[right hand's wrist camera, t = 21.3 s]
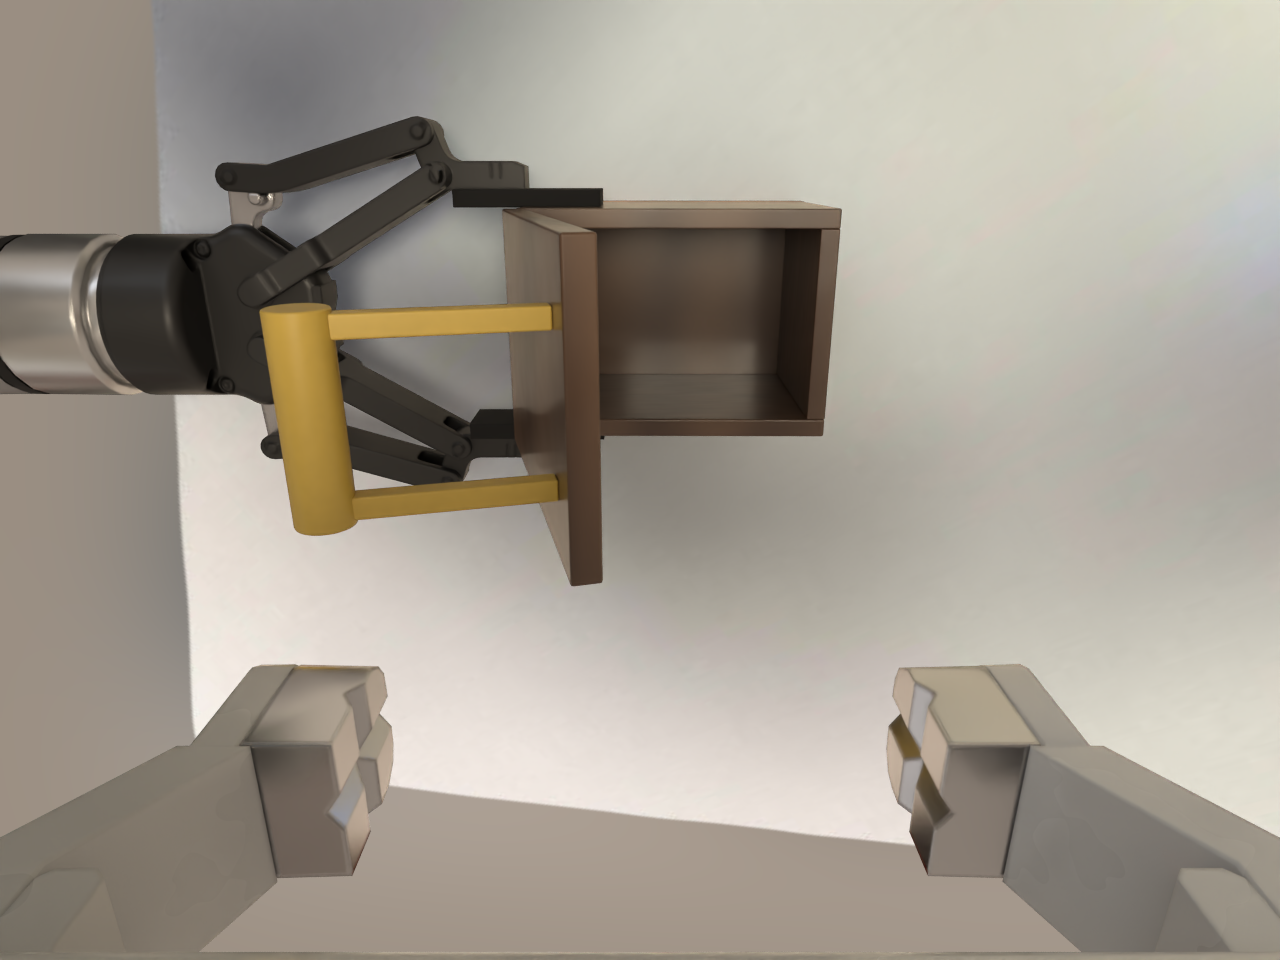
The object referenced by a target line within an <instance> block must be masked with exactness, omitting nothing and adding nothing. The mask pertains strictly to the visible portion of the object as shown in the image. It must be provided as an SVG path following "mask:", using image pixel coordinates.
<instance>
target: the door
mask: <svg viewBox="0 0 1280 960" xmlns="http://www.w3.org/2000/svg"><path fill="white" fill-rule="evenodd" d="M502 216H503V234H504V252H505V270H506V289H507V304H495V305H468V306H440V307H413V308H385V309H358V310H331V307H330V306H329V305H326V304H319V303H292V304H281V305H274V306H269V307H265V308H263V309H261V310H260V312H259V313H260V319H261V325H262V331H263V338H264V344H265V350H266V356H267V362H268V369H269V375H270V381H271V387H272V394H273V400H274V406H275V412H276V418H277V425H278V431H279V437H280V443H281V450H282V456H283V462H284V468H285V475H286V481H287V487H288V493H289V499H290V506H291V512H292V518H293V524H294V528H295V530H296V531H297V532H299V533H301V534H304V535H311V536H321V535H330V534H335V533H339V532H342V531H345V530H347V529H349V528H351V527H353V526H354V525H355V524H356V523H357V522H358V520H363V519H374V518H385V517H395V516H406V515H416V514H427V513H438V512H448V511H459V510H469V509H480V508H491V507H501V506H512V505H523V504H533V503H539V504H540V506H541V509H542V511H543V514H544V517H545V519H546V522H547V524H548V527H549V530H550V532H551V535H552V537H553V540H554V543H555V545H556V548H557V550H558V553H559V556H560V558H561V561H562V564H563V566H564V569H565V571H566V574H567V577H568V579H569V582H570V584H571V586H580V585H588V584H597V583H602V580H603V566H602V507H601V447H600V387H599V327H598V267H597V234H596V232H593V231H590V230H587V229H584V228H581V227H578V226H575V225H572V224H569V223H565V222H562V221H559V220H556V219H553V218H550V217H547V216H544V215H541V214H538V213H535V212H532V211H529V210H526V209H503V211H502ZM507 332H509V343H510V361H511V379H512V397H513V416H514V434H515V441H516V444H517V446H518V449H519V451H520V454H521V457H522V459H523V462H524V464H525V467H526V470H527V472H528V475H529V476H519V477H507V478H496V479H484V480H472V481H461V482H449V483H437V484H426V485H414V486H403V487H391V488H379V489H368V490H356V491H355V487H354V479H353V471H352V464H351V456H350V448H349V440H348V433H347V425H346V417H345V410H344V402H343V394H342V387H341V379H340V371H339V363H338V356H337V348H336V340H350V339H372V338H395V337H417V336H439V335H462V334H484V333H507Z"/></svg>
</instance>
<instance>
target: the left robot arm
mask: <svg viewBox="0 0 1280 960" xmlns="http://www.w3.org/2000/svg"><path fill="white" fill-rule="evenodd" d="M414 154H416V157H417V159H418V161H419V164H420V166H421V168H420V169H419V170H417V171H416V172H414V173H412V174H411V175H409V176H408V177H406V178H405V179H403V180H402V181H400V182H399V183H397V184H396V185H394V186H393V187H391V188H390V189H388V190H387V191H385V192H384V193H382V194H380V195H379V196H377V197H376V198H374V199H373V200H371V201H370V202H368V203H367V204H365V205H364V206H362V207H361V208H359V209H358V210H356V211H355V212H353V213H351V214H350V215H348V216H347V217H345V218H344V219H342V220H341V221H339V222H338V223H336V224H335V225H333V226H332V227H330V228H329V229H327V230H326V231H324V232H323V233H321V234H319V235H318V236H316V237H314V238H312V239H310V240H308V241H306V242H305V243H303V244H301V245H300V246H298V247H297V248H296V247H294V246H293V245H291V244H290V243H288V242H287V241H285V240H284V239H282V238H281V237H279V236H278V235H276V234H275V233H273V232H272V231H270V230H269V229H268V228H266V227H264V226H262V219H263V216H264V215H265V214H266V213H267V212H269V211H273V210H276V209H278V208H279V207H280V206H281V204H282V202H283V195H282V193H286V192H296V191H302V190H306V189H310V188H313V187H316V186H319V185H322V184H325V183H328V182H331V181H334V180H337V179H340V178H343V177H346V176H350V175H353V174H356V173H359V172H362V171H365V170H368V169H371V168H374V167H377V166H380V165H383V164H387V163H390V162H393V161H396V160H399V159H402V158H405V157H408V156H411V155H414ZM215 177H216V181H217V183H218V184H219V186H220V187H221V188H223V189H224V190H226V191H228V193H229V203H230V212H231V222H232V225H230V226H228V227H227V228H225V229H224V230H222V231H221V232H218V233H216V234H132V235H128V236H126V237H121V236H119V235H116V234H26V235H10V236H0V394H105V395H133V394H137V393H141V392H145V393H149V394H156V395H226V394H234V395H240V396H244V397H247V398H249V399H251V400H253V401H255V402H257V403H260V404H261V405H262V409H263V414H264V418H265V422H266V427H267V431H268V436H267V437H265V438H264V439H263V440H262V442H261V450H262V452H263V453H264V454H265V455H266V456H267V457H269V458H271V459H283V456H282V450H281V443H280V437H279V431H278V425H277V418H276V412H275V406H274V400H273V394H272V387H271V381H270V375H269V369H268V362H267V356H266V350H265V344H264V338H263V331H262V325H261V319H260V313H259V312H260V310H261V309H263V308H265V307H269V306H274V305H281V304H292V303H319V304H326V305H329V306H330V307H331V310H336V304H337V297H338V295H337V287H336V280H331V278H330V276H329V274H328V273H327V271H329V270H330V269H332V268H334V267H335V266H337V265H338V264H340V263H341V262H343V261H344V260H346V259H347V258H349V256H350V255H352V254H353V253H355V252H356V251H358V250H360V249H361V248H363V247H364V246H366V245H367V244H369V243H370V242H372V241H373V240H375V239H377V238H378V237H380V236H381V235H383V234H384V233H386V232H387V231H389V230H391V229H392V228H394V227H395V226H397V225H398V224H400V223H401V222H403V221H405V220H406V219H408V218H409V217H411V216H412V215H414V214H415V213H417V212H418V211H420V210H422V209H423V208H425V207H426V206H428V205H429V204H431V203H432V202H434V201H436V200H437V199H439V198H440V197H442V196H443V195H445V194H446V193H448V192H449V191H451V190H452V195H453V207H601V206H602V205H603V188H529V171H528V166H526V165H524V164H522V163H519V162H516V161H461V160H458V159H457V158H455V157H454V156H453V155H452V154H451V152H450V150H449V148H448V145H447V143H446V141H445V138H444V131H443V128H442V127H441V125H440V124H439V123H438V122H436V121H434V120H431V119H427V118H423V117H419V116H415V117H410V118H407V119H404V120H401V121H398V122H395V123H392V124H389V125H386V126H383V127H380V128H377V129H374V130H371V131H368V132H365V133H362V134H359V135H356V136H353V137H350V138H347V139H344V140H341V141H338V142H334V143H331V144H328V145H325V146H322V147H319V148H316V149H313V150H310V151H307V152H304V153H301V154H298V155H295V156H292V157H289V158H286V159H283V160H280V161H277V162H274V163H271V164H257V163H229V162H227V163H222V164H220V165H219V166H218V167H217V169H216V172H215ZM343 344H344V343H343V340H336V348H337V356H338V363H339V371H340V379H341V387H342V394H343V401H344V402H346V403H348V404H350V405H352V406H354V407H356V408H358V409H359V410H361V411H363V412H365V413H367V414H369V415H371V416H373V417H375V418H377V419H379V420H380V421H382V422H384V423H386V424H388V425H390V426H392V427H394V428H396V429H398V430H399V431H401V432H403V433H405V434H407V435H409V436H411V437H413V438H415V439H417V440H418V441H420V442H422V443H424V444H426V445H428V446H430V447H432V448H434V449H436V450H434V449H431V448H427V447H423V446H420V445H416V444H413V443H409V442H405V441H402V440H398V439H394V438H391V437H387V436H383V435H380V434H376V433H372V432H369V431H365V430H361V429H358V428H354V427H350V426H347V433H348V440H349V448H350V456H351V464H352V469H355V470H359V471H363V472H366V473H370V474H374V475H377V476H381V477H385V478H389V479H392V480H396V481H400V482H403V483H407V484H411V485H426V484H437V483H449V482H461V481H464V479H465V477H466V475H467V473H468V471H469V466H470V463H471V461H472V460H473V459H475V458H479V457H521V454H520V451H519V449H518V446H517V444H516V441H515V434H514V416H513V409H480V410H479V411H478V413H477V414H476V416H475V417H474V419H473V420H472V422H471V423H469V422H467V421H465V420H464V419H462V418H460V417H458V416H456V415H454V414H452V413H451V412H449V411H447V410H445V409H443V408H441V407H439V406H437V405H436V404H434V403H432V402H430V401H428V400H426V399H424V398H423V397H421V396H419V395H417V394H415V393H413V392H411V391H410V390H408V389H406V388H404V387H402V386H400V385H398V384H396V383H395V382H393V381H391V380H389V379H387V378H385V377H383V376H382V375H380V374H378V373H376V372H374V371H372V370H370V369H368V368H367V367H365V366H364V365H363V364H362V362H361V361H360V360H358V359H357V358H355V357H353V356H351V355H349V354H348V353H346V352H344V351H342V350H340V346H341V345H343ZM600 439H604V436H600Z"/></svg>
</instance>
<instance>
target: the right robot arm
mask: <svg viewBox="0 0 1280 960" xmlns="http://www.w3.org/2000/svg"><path fill="white" fill-rule="evenodd" d="M386 698H387V690H386V683H385V677H384V673H383V672H382V670H381V669H380V668H379V667H378V666H334V665H300V666H298V665H295V664H289V665H259V666H256V667H253V668H251V669H250V671H249V672H248V673H247V674H246V676H245V677H244V678H243V679H242V681H241V682H240V683H239V684H238V686H237V687H236V688H235V689H234V691H233V692H232V693H231V695H230V696H229V697H228V698H227V700H226V701H225V702H224V703H223V705H222V706H221V707H220V708H219V710H218V711H217V712H216V713H215V715H214V716H213V717H212V718H211V720H210V721H209V722H208V724H207V725H206V726H205V727H204V729H203V730H202V731H201V732H200V734H199V735H198V736H197V737H196V739H195V740H194V741H193V742H192V744H191V745H190V746H176V747H174V748H172V749H170V750H168V751H166V752H164V753H162V754H160V755H159V756H157V757H155V758H153V759H151V760H149V761H147V762H145V763H143V764H141V765H139V766H137V767H135V768H133V769H131V770H130V771H128V772H126V773H124V774H122V775H120V776H118V777H116V778H114V779H112V780H110V781H108V782H106V783H105V784H103V785H101V786H99V787H97V788H95V789H93V790H91V791H89V792H87V793H85V794H83V795H81V796H80V797H78V798H76V799H74V800H72V801H70V802H68V803H66V804H64V805H62V806H60V807H58V808H56V809H54V810H52V811H51V812H49V813H47V814H45V815H43V816H41V817H39V818H37V819H35V820H33V821H31V822H29V823H27V824H25V825H24V826H22V827H20V828H18V829H16V830H14V831H12V832H10V833H8V834H6V835H4V836H2V837H0V960H1280V838H1279V837H1277V836H1275V835H1273V834H1271V833H1269V832H1268V831H1266V830H1264V829H1262V828H1260V827H1258V826H1256V825H1254V824H1252V823H1250V822H1248V821H1246V820H1245V819H1243V818H1241V817H1239V816H1237V815H1235V814H1233V813H1231V812H1229V811H1227V810H1225V809H1223V808H1221V807H1220V806H1218V805H1216V804H1214V803H1212V802H1210V801H1208V800H1206V799H1204V798H1202V797H1200V796H1198V795H1196V794H1195V793H1193V792H1191V791H1189V790H1187V789H1185V788H1183V787H1181V786H1179V785H1177V784H1175V783H1173V782H1172V781H1170V780H1168V779H1166V778H1164V777H1162V776H1160V775H1158V774H1156V773H1154V772H1152V771H1150V770H1148V769H1147V768H1145V767H1143V766H1141V765H1139V764H1137V763H1135V762H1133V761H1131V760H1129V759H1127V758H1125V757H1123V756H1122V755H1120V754H1118V753H1116V752H1114V751H1112V750H1110V749H1108V748H1106V747H1104V746H1090V745H1089V744H1088V742H1087V741H1086V740H1085V739H1084V737H1083V736H1082V735H1081V734H1080V732H1079V731H1078V730H1077V729H1076V727H1075V726H1074V725H1073V724H1072V722H1071V721H1070V720H1069V719H1068V717H1067V716H1066V715H1065V714H1064V712H1063V711H1062V710H1061V709H1060V707H1059V706H1058V705H1057V703H1056V702H1055V701H1054V700H1053V698H1052V697H1051V696H1050V695H1049V693H1048V692H1047V691H1046V690H1045V688H1044V687H1043V686H1042V685H1041V683H1040V682H1039V681H1038V680H1037V678H1036V677H1035V676H1034V675H1033V673H1032V672H1031V671H1030V670H1029V668H1027V667H1025V666H1023V665H1021V664H1006V665H980V666H954V667H908V668H899V669H898V672H897V675H896V677H895V682H894V689H893V698H894V700H895V703H896V705H897V707H898V709H899V711H900V713H901V714H900V715H899V716H898V717H897V718H896V719H895V720H894V721H893V722H892V723H891V724H890V725H889V727H888V738H887V748H886V750H887V764H888V774H889V778H890V782H891V786H892V789H893V792H894V795H895V797H896V800H897V802H898V804H899V805H901V806H902V807H903V808H905V809H906V810H907V811H909V812H910V813H911V814H912V816H911V824H910V831H909V832H910V834H911V837H912V839H913V841H914V844H915V846H916V848H917V851H918V853H919V855H920V858H921V860H922V863H923V865H924V867H925V870H926V872H927V875H928V876H950V877H985V878H1003V882H1004V883H1005V884H1006V885H1007V886H1008V887H1009V888H1011V889H1012V890H1013V891H1014V892H1015V893H1016V894H1017V895H1018V896H1019V897H1021V898H1022V899H1023V900H1024V901H1025V902H1026V903H1027V904H1028V905H1029V906H1031V907H1032V908H1033V909H1034V910H1035V911H1036V912H1037V913H1038V914H1040V915H1041V916H1042V917H1043V918H1044V919H1045V920H1046V921H1047V922H1049V923H1050V924H1051V925H1052V926H1053V927H1054V928H1055V929H1056V930H1058V931H1059V932H1060V933H1061V934H1062V935H1063V936H1064V937H1065V938H1067V939H1068V940H1069V941H1070V942H1071V943H1072V944H1073V945H1074V946H1075V947H1077V948H1078V949H1079V950H1080V951H1081V952H199V951H200V950H201V949H203V948H204V947H205V946H206V945H207V944H208V943H209V942H210V941H212V940H213V939H214V938H215V937H216V936H217V935H218V934H219V933H221V932H222V931H223V930H224V929H225V928H226V927H227V926H228V925H229V924H231V923H232V922H233V921H234V920H235V919H236V918H237V917H239V916H240V915H241V914H242V913H243V912H244V911H245V910H246V909H248V908H249V907H250V906H251V905H252V904H253V903H254V902H255V901H257V900H258V899H259V898H260V897H261V896H262V895H263V894H264V893H266V892H267V891H268V890H269V889H270V888H271V887H272V886H273V885H275V884H276V883H277V878H294V877H329V876H352V875H353V873H354V870H355V868H356V865H357V863H358V861H359V858H360V856H361V853H362V851H363V849H364V846H365V844H366V841H367V839H368V837H369V834H370V832H371V831H370V823H369V816H368V814H369V813H370V812H371V811H373V810H374V809H375V808H377V807H378V806H379V805H381V804H382V802H383V800H384V797H385V794H386V792H387V789H388V787H389V782H390V777H391V771H392V766H393V735H392V727H391V725H390V724H389V723H388V722H387V721H386V720H385V719H384V718H383V717H382V716H381V715H380V714H379V713H380V711H381V709H382V707H383V705H384V703H385V701H386Z"/></svg>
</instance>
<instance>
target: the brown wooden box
mask: <svg viewBox="0 0 1280 960" xmlns="http://www.w3.org/2000/svg"><path fill="white" fill-rule="evenodd" d="M517 209H526V210H529V211H532V212H535V213H538V214H541V215H544V216H547V217H550V218H553V219H556V220H559V221H562V222H565V223H569V224H572V225H575V226H578V227H581V228H584V229H587V230H590V231H593V232H596V234H597V267H598V327H599V387H600V436H822V435H823V429H824V418H825V407H826V395H827V383H828V371H829V359H830V347H831V335H832V323H833V311H834V299H835V287H836V274H837V262H838V250H839V238H840V225H841V213H842V210H841V209H839V208H834V207H828V206H823V205H817V204H812V203H806V202H803V201H603V205H602V206H601V207H520V208H517Z"/></svg>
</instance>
